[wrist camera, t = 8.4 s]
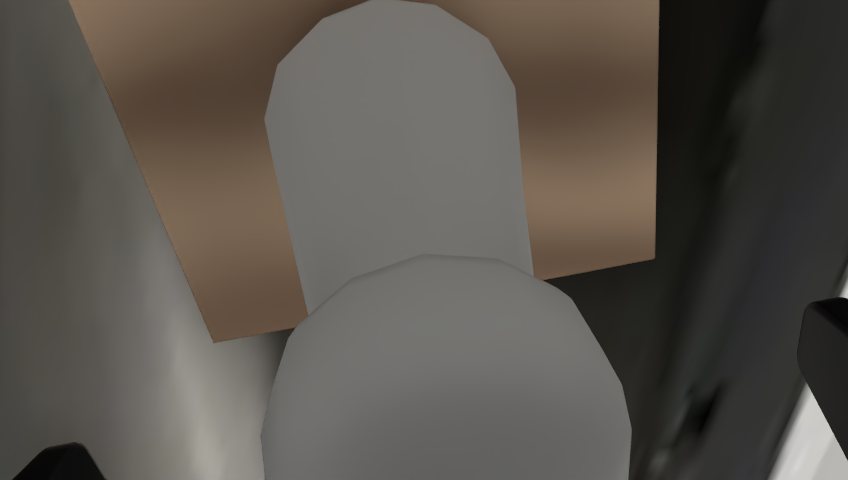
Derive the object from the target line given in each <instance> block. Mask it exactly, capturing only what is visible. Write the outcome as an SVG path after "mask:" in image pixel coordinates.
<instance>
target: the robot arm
mask: <svg viewBox="0 0 848 480" xmlns="http://www.w3.org/2000/svg"><path fill="white" fill-rule="evenodd" d="M797 358H798V364H799V367H800V370H801V372H802V374H803V376H804V378H805V380H806V382H807V384H808V386H809V387H810V389H811V391H812V393H813V395H814V397H815V399H816V401H817V403H818V405H819V407H820V408H821V410H822V412H823V414H824V416H825V418H826V420H827V422H828V424H829V426H830V428H831V429H832V431H833V433H834V435H835V437H836V439H837V441H838V443H839V445H840V446H841V448H842V450H843V452H844V454H845V456H846V458H847V460H848V299H847V298H842V297H837V298H831V299H826V300H821V301H815V302H812V303H810V304H808V305H807V307H806V308H805V310H804V314H803V320H802V326H801V332H800V338H799V344H798V350H797ZM12 480H106V478H105V477H104V475H103V473H102V472H101V470H100V468H99V467H98V465H97V464H96V462H95V460H94V459H93V457H92V456H91V454H90V452H89V451H88V449H87V448H86V447H85V446H84V445H83V444H81V443H79V442H72V443H67V444H62V445H56V446H51V447H48V448H46V449H44V450H43V451H41V452H40V453H39V454H38V455H37V456H36V457H35V458H34V459H33V460H32V461H31V462H30V463H29V464H28V465H27V466H26V467H25V468H24V469H23V470H22V471H21V472H20V473H19V474H18V475H17V476H15V477H14V478H13V479H12Z"/></svg>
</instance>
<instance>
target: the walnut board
mask: <svg viewBox="0 0 848 480" xmlns="http://www.w3.org/2000/svg"><path fill="white" fill-rule="evenodd" d="M68 1H69V3H70V5H71V8H72V10H73V12H74V15H75V17H76V19H77V22H78V24H79V26H80V29H81V31H82V34H83V36H84V38H85V41H86V43H87V45H88V48H89V50H90V52H91V55H92V57H93V59H94V62H95V64H96V67H97V69H98V71H99V74H100V76H101V78H102V81H103V83H104V85H105V88H106V90H107V92H108V95H109V97H110V100H111V102H112V104H113V107H114V109H115V111H116V114H117V116H118V118H119V121H120V123H121V126H122V128H123V130H124V133H125V135H126V137H127V140H128V142H129V144H130V147H131V149H132V151H133V154H134V156H135V159H136V161H137V163H138V166H139V168H140V170H141V173H142V175H143V177H144V180H145V182H146V184H147V187H148V189H149V192H150V194H151V196H152V199H153V201H154V203H155V206H156V208H157V210H158V213H159V215H160V217H161V220H162V222H163V225H164V227H165V229H166V232H167V234H168V236H169V239H170V241H171V243H172V246H173V248H174V250H175V253H176V255H177V258H178V260H179V262H180V265H181V267H182V269H183V272H184V274H185V276H186V279H187V281H188V283H189V286H190V288H191V291H192V293H193V295H194V298H195V300H196V302H197V305H198V307H199V309H200V312H201V314H202V316H203V319H204V321H205V324H206V326H207V328H208V331H209V333H210V335H211V338H212V340H213V342H214V343H216V342H222V341H227V340H232V339H237V338H243V337H248V336H253V335H258V334H263V333H269V332H274V331H279V330H284V329H290V328H295V327H297V326H298V324H299V323H300V322H301V321H303V320H304V319H305V318H306V317H307V316H308V311H307V307H306V303H305V298H304V294H303V290H302V285H301V281H300V277H299V273H298V268H297V264H296V260H295V255H294V251H293V247H292V242H291V238H290V234H289V230H288V225H287V221H286V217H285V212H284V208H283V204H282V199H281V195H280V191H279V187H278V182H277V178H276V174H275V169H274V164H273V159H272V154H271V150H270V145H269V140H268V135H267V130H266V125H265V120H264V118H265V114H266V110H267V106H268V102H269V98H270V94H271V89H272V85H273V81H274V77H275V73H276V69H277V65H278V64H279V63H280V62H281V61H282V60H283V59H284V58H285V57H286V56H287V55H288V53H289V52H290V51H291V50H292V49H293V48H294V47H295V46H296V45H297V44H298V43H299V42H300V41H301V40H302V39H303V38H304V37H305V36H306V35H307V34H308V33H309V32H310V31H311V30H312V29H313V28H314V27H315V26H316V25H317V24H318V23H319V22H320V21H321V20H322V19H323V18H325V17H327V16H330V15H333V14H335V13H338V12H340V11H343V10H345V9H348V8H351V7H353V6H356V5H358V4H361V3H363V2H366V1H369V0H68ZM402 1H410V2H419V3H427V4H435V5H437V6H438V7H440V8H441V9H443V10H445V11H446V12H448V13H449V14H451V15H452V16H454V17H455V18H457V19H459V20H460V21H462V22H463V23H465V24H466V25H468V26H470V27H471V28H473V29H474V30H476V31H477V32H479V33H481V34H482V35H484V36H485V37H487V38H488V39H489V41H490V43H491V44H492V46H493V48H494V50H495V52H496V53H497V55H498V57H499V59H500V61H501V63H502V64H503V66H504V68H505V70H506V72H507V73H508V75H509V77H510V79H511V81H512V82H513V84H514V86H515V90H516V103H517V116H518V129H519V141H520V154H521V167H522V180H523V192H524V201H525V209H526V217H527V224H528V232H529V240H530V248H531V256H532V264H533V272H534V277H536V278H538V279H540V280H546V279H551V278H556V277H562V276H567V275H572V274H577V273H583V272H588V271H593V270H598V269H604V268H609V267H614V266H619V265H624V264H630V263H635V262H640V261H645V260H651V259H655V223H656V163H657V103H658V43H659V0H402Z"/></svg>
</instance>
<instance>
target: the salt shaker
mask: <svg viewBox="0 0 848 480" xmlns="http://www.w3.org/2000/svg"><path fill="white" fill-rule="evenodd" d="M264 120H265V125H266V130H267V135H268V140H269V145H270V150H271V154H272V159H273V164H274V169H275V174H276V178H277V182H278V187H279V191H280V195H281V199H282V204H283V208H284V212H285V217H286V221H287V225H288V230H289V234H290V238H291V242H292V247H293V251H294V255H295V260H296V264H297V268H298V273H299V277H300V281H301V285H302V290H303V294H304V298H305V303H306V307H307V311H308V316H307V317H306V318H305V319H304V320H303V321H301V322H300V323H299V324H298V326H297V327H296V328H295V330H294V331H293V332H292V334H291V335H290V336H289V338H288V341H287V344H286V347H285V350H284V353H283V356H282V359H281V362H280V365H279V368H278V371H277V374H276V378H275V381H274V384H273V387H272V390H271V393H270V396H269V401H268V405H267V410H266V414H265V419H264V423H263V428H262V433H261V443H262V452H263V462H264V471H265V480H628V474H629V460H630V446H631V432H632V429H631V424H630V420H629V415H628V411H627V406H626V402H625V397H624V393H623V388H622V384H621V382H620V381H619V379H618V377H617V375H616V373H615V372H614V370H613V368H612V366H611V364H610V363H609V361H608V359H607V357H606V355H605V354H604V352H603V350H602V348H601V347H600V345H599V343H598V342H597V340H596V338H595V337H594V335H593V333H592V332H591V330H590V328H589V327H588V325H587V324H586V322H585V320H584V319H583V317H582V315H581V314H580V312H579V310H578V309H577V307H576V305H575V304H574V302H573V300H572V299H571V298H570V297H568V296H567V295H566V294H565V293H563V292H562V291H561V290H559V289H558V288H556V287H554V286H552V285H550V284H548V283H546V282H544V281H542V280H540V279H538V278H536V277H534V272H533V264H532V256H531V248H530V240H529V232H528V224H527V217H526V209H525V201H524V192H523V180H522V167H521V154H520V141H519V129H518V116H517V103H516V90H515V86H514V84H513V82H512V81H511V79H510V77H509V75H508V73H507V72H506V70H505V68H504V66H503V64H502V63H501V61H500V59H499V57H498V55H497V53H496V52H495V50H494V48H493V46H492V44H491V43H490V41H489V39H488V38H487V37H485V36H484V35H482V34H481V33H479V32H477V31H476V30H474V29H473V28H471V27H470V26H468V25H466V24H465V23H463V22H462V21H460V20H459V19H457V18H455V17H454V16H452V15H451V14H449V13H448V12H446V11H445V10H443V9H441V8H440V7H438V6H437V5H435V4H427V3H419V2H410V1H402V0H369V1H366V2H363V3H361V4H358V5H356V6H353V7H351V8H348V9H345V10H343V11H340V12H338V13H335V14H333V15H330V16H327V17H325V18H323V19H322V20H321V21H320V22H319V23H318V24H317V25H316V26H315V27H314V28H313V29H312V30H311V31H310V32H309V33H308V34H307V35H306V36H305V37H304V38H303V39H302V40H301V41H300V42H299V43H298V44H297V45H296V46H295V47H294V48H293V49H292V50H291V51H290V52H289V53H288V55H287V56H286V57H285V58H284V59H283V60H282V61H281V62H280V63H279V64H278V65H277V69H276V73H275V77H274V81H273V85H272V89H271V94H270V98H269V102H268V106H267V110H266V114H265V118H264Z"/></svg>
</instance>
